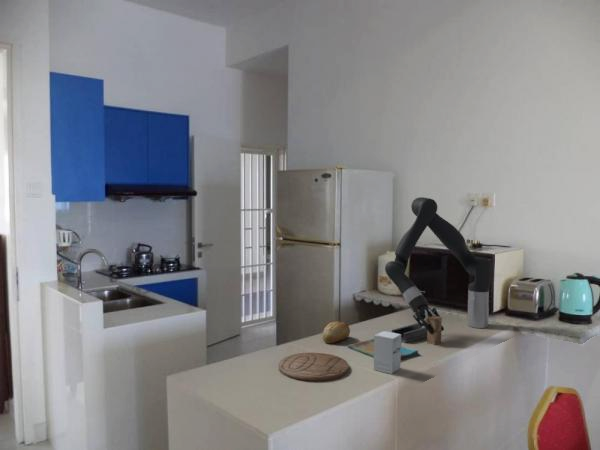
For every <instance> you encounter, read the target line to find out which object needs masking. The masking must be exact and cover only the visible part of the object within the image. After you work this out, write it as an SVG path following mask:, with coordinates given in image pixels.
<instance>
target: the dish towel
mask: <svg viewBox="0 0 600 450" xmlns="http://www.w3.org/2000/svg"><path fill="white" fill-rule="evenodd" d="M347 348H348V349H350V350H352V351H355V352H358V353H361V354H363V355H365V356H369V357H371V358H373V359H374V338H372V339H368V340H365V341H359V342H356V343H351V344H348V346H347ZM418 356H420V353H419V350H417V349H414V350H412V349H410V348H406V347H405V346H401V361H404V360H407V359H412V358H414V357H415V358H417V357H418Z"/></svg>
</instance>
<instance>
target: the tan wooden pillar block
mask: <svg viewBox="0 0 600 450" xmlns="http://www.w3.org/2000/svg"><path fill="white" fill-rule="evenodd" d="M442 318H443V317H442V316H440V317H438V316H431V317H428V321H429V324H430V325H431V326H432V328H433V329H434V331H435V333H433V334H430V333H429V331H428V330H427V337H426V343H427V344H430V345H433V346H435V345H439V344H441V343H442V332H441V325H443V324H442V321H443V319H442Z"/></svg>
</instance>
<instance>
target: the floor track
mask: <svg viewBox="0 0 600 450" xmlns="http://www.w3.org/2000/svg"><path fill="white" fill-rule="evenodd" d="M391 332H392V333H397V334H401V343H403V344H408V343H410V342H413V341H416V340H420V339H424V338H427V329H426V327H424V326H422V327H421V326H420V325H419V323H418V322H417V323H413V324H409V325H405V326H402V327H397V328H393V329H391Z"/></svg>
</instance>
